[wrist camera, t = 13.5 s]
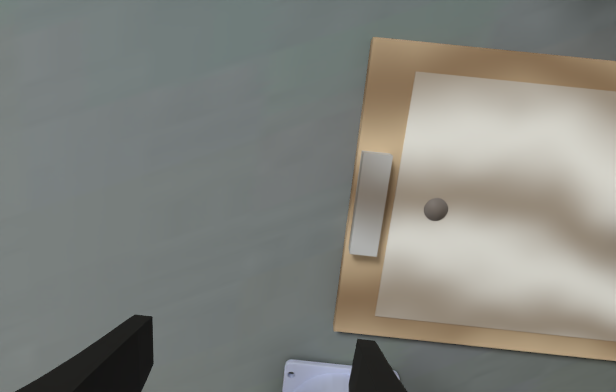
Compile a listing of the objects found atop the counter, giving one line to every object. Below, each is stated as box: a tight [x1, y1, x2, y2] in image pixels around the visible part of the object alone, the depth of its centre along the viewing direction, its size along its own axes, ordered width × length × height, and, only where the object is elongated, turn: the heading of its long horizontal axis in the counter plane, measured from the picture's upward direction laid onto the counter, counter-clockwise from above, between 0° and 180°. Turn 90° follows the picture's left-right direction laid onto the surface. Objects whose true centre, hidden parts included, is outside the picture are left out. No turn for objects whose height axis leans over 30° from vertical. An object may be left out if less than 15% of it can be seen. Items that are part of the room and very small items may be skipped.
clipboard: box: [333, 37, 616, 361], centre depth 20 cm, size 18×24×2 cm
